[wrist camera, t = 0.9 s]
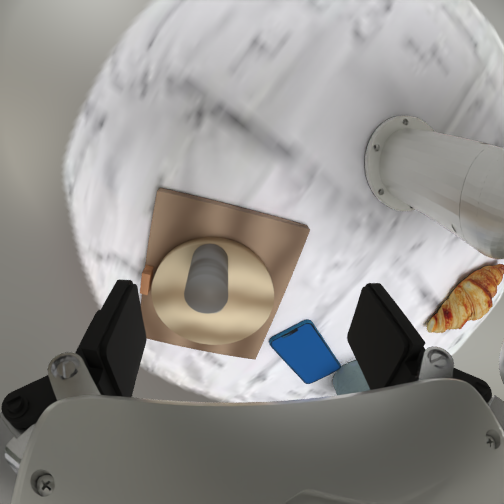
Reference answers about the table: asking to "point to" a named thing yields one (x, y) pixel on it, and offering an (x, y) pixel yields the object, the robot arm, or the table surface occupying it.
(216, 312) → the dial
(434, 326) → the croissant
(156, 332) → the board
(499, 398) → the robot arm
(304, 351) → the smartphone
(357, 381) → the grey-green cup
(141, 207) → the table surface
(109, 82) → the table surface
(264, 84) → the table surface
